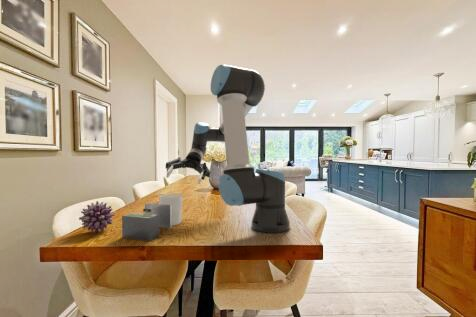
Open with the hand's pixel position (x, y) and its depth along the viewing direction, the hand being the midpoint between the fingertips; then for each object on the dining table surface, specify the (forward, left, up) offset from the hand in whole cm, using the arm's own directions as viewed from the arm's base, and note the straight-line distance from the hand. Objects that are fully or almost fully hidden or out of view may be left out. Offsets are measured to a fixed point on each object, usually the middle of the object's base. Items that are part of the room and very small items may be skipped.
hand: (183, 178), depth 102 cm
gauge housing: (+6, +19, -20) cm, 28 cm away
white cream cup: (+6, 0, -20) cm, 21 cm away
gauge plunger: (+6, +12, -19) cm, 23 cm away
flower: (+26, +19, -20) cm, 38 cm away
